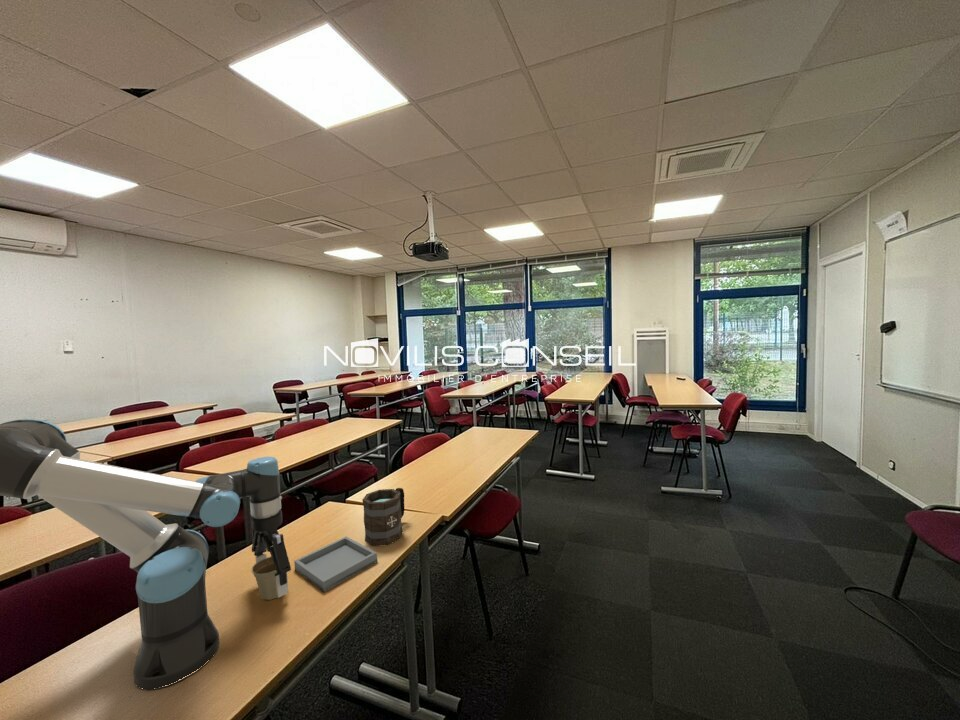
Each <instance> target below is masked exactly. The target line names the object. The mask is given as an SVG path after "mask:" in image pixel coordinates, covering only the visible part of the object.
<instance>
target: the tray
mask: <svg viewBox="0 0 960 720" xmlns="http://www.w3.org/2000/svg"><path fill="white" fill-rule="evenodd" d="M293 562H294V571H295V572H297V573H298V574H299V575H300V576H302V577H304V578H305V579H306V580H308V581H309V582H310V583H312V584H313V585H314V586H315V587H316V588H318V589H319V590H321V591H322V592H324V593H326V592H327V591H329V590H330V589H332V588H334V587H336V586H337V585H339V584H341V583H343V582H345V581H347V580H348V579H350V578H352V577H354V576H355V575H357V574H359V573H361V572H362V571H364V570H365V568H366V569H367V568H370V567H371V566H373V565H374V564H376V563H378V552H377V551H374V550H373V549H370V548H369V547H367V546H365V545H363V544H362V543H360V542H358V541H356V540H354V539H352V538H350V537H348V536H344V537H342V538H340V539H338V540H336V541H333V542H331V543H329V544H327V545H325V546H322V547H321V548H318V549H316V550H315V551H312V552H310V553H307V554H305V555H304V556H302V557H300V558H297V559H296V560H293ZM375 562H376V563H375ZM372 564H373V565H372ZM370 565H371V566H370ZM358 572H359V573H358Z"/></svg>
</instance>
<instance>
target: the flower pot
mask: <svg viewBox="0 0 960 720" xmlns="http://www.w3.org/2000/svg"><path fill="white" fill-rule="evenodd" d="M288 559H289V560H290V557H289V556H288ZM251 573H252V574H253V577H254V578H255V581H256V584H257V588H258V592H259V595H260V599H262V600H263V601H265V600H268V601H269V600H273V599H276V598H278V597H277V588H276V576H275V574H276V573H277V571H276V568H275V565H274V563H273V560H272V557H271V555H270V556H268V557H267V558H265V559H263V560H261V561H259V562H257V563H256V562H255V563H254V565H253V566H252V568H251Z"/></svg>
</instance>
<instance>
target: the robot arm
mask: <svg viewBox="0 0 960 720" xmlns="http://www.w3.org/2000/svg"><path fill="white" fill-rule="evenodd" d="M66 437H67V436H66V435H65V432H64V431H63V430H62V429H61V428H60V427H59V426H57V425H56V424H54V423H52V422H50V421H47V420H43V419H42V420H41V419H35V418H32V419H31V418H27V419H26V418H24V419H15V420H10V421H5V422H2V423H1V424H0V496H1V497H2V496H3V497H8V498H16V499H24V500H28V499H31V498H32V497H35V496H38V497H39V498H41V499H42V500H44V501H45V502H47V503H49V504H50V505H51V506H52V507H54V508H56V509H57V510H59V511H61V512H62V513H63V514H65V515H67V517H70V518H71V519H72V520H74V521H75V522H77V523H78V524H79V525H82V527H84V528H86V529H87V530H89V531H90V532H92V533H93V534H95V535H97V536H99V537H100V538H101V539H102V540H103V541H105V542H107V543H109V544H110V545H112V546H113V547H115V548H116V549H118V550H119V551H121V552H122V553H123V554H125V555H127V556H128V557H129V558H130V559H129V568H130V569H132V570H133V571H135V572H136V573H137V576H136V582H135V591H136V595H137V601H138V602H137V603H138V613H139V621H140V622H139V624H140V625H139V626H140V631H141V632H140V633H141V643H140V647H139V650H138V654H137V657H136V661H135V664H134V667H133V681H134V684H136V685H137V686H138V687H140V688H143V689H142V690H144V689H154V688H159V687H162V686H165V685H169V684H171V683H174V682H176V681H178V680H179V679H182V678H183V677H185V676H187V675H189V674H191V673H192V672H194V671H196V670H197V669H199V668H200V667H201V666H203V665H204V664H205V663H206V662H207V661H208V660H210V659H211V658H212V659H213V658H214V656H215V655H216V653H217V652H218V650H219V647H220V635H219V631H218V629H217V627H216V626H215V624H214V622H213V621H212V620H213V619H211V617H210V615H209V612H208V604H207V603H208V602H207V601H208V600H207V590H206V574H207V573H206V572H207V566H208V559H209V553H210V551H209V550H210V549H209V544H208V542H207V539H206V538H205V537H204V535H202V534H201V533H200V532H198V531H196V530H192V529H184V528H183V527H182V526H180V525H179V524H178V523H170V524H165V523H163V522H162V521H161V520H160V519H158V518H157V517H156V516H154V515H153V514H151V513H150V512H153V513H159V514H167V515H174V516H180V517H187V518H194V519H200V520H201V521H202V522H203V524H204V525H206V526H208V527H211V528H219V527H224V526H226V525H228V524H230V523H231V522H232V521H234V519H235V518H236V517H237V515H238V514H239V509H240V506H241V505H240V504H241V499H245V498H249V508H250V516H251V518H250V519H251V529H252V531H253V537H252V543H251V544H252V546H251V552H252V553H253V555H254V556H255V564H256V563H257V562H259V561H261V560H263V559H265V558H267V556H268V555H267V552H269V554H270V556H271V557H272V560H273V563H274V565H275V568H276V571H277V573H276V574H275V576H276V588H277V597H276V598H278V599H279V598H280V597H283V596H285V595H286V594H288V593H289V580H288V572H291V570H292V567H291V564H290V563H291V562H290V558H289V559H288V557H289V556H288V552H287V549H286V545H285V539H284V534H283V533H279V531H278V528H279V526H281V525H282V524H283V520H284V519H283V510H281V509H282V499H283V496H281V482H280V481H281V480H280V470H279V462H278V459H277V458H276V457H275V456H274V457H273V456H260V457H257V458H253V459H251V460H249V461H248V462H247V464H246V465H247V466H246V468H243V469H240V470H234V471H229V472H224V473H220V474H219V473H218V474H214V475H213V474H210V475H208V476H204V477H200V478H198V479H196V480H190V479H185V478H179V477H174V476H169V475H163V474H160V473H159V474H158V473H153V472H148V471H143V470H138V469H132V468H127V467H121V466H118V465H112V464H106V463H101V462H96V461H92V460H91V461H90V460H86V459H80V458H81V451H79V450H78V449H77V448H76V447H74V446H73V445H72V444H71V443H70V442H67V438H66ZM214 654H215V655H214ZM213 655H214V656H213ZM212 659H211V660H212ZM211 660H210V661H211ZM204 666H205V665H204ZM204 666H203V667H204ZM136 685H135V686H136ZM137 686H136V687H137ZM138 687H137V688H138ZM140 688H139V689H140ZM154 690H155V689H154Z"/></svg>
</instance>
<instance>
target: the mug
mask: <svg viewBox="0 0 960 720" xmlns="http://www.w3.org/2000/svg"><path fill="white" fill-rule="evenodd" d="M361 501H362V505H363V524H364V542H366V543H367V544H368V545H370V546H371V547H380V545H387V546H389V545H391V544H393V543H395V541H396V542H398V541H400V540H399V539H401V538H400V537H402V535H403V533H404V531H403V527H402V526H403V525H402V518H403V517H404V515H405V492H404V488H402V487H396V489H394V488H388V489H386V488H385V489H378V490H373V491H371V492H368V493H366V494H365V495H364V496H363V498H362V500H361ZM402 532H403V533H402ZM397 540H398V541H397ZM392 542H393V543H392ZM388 544H389V545H388Z"/></svg>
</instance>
